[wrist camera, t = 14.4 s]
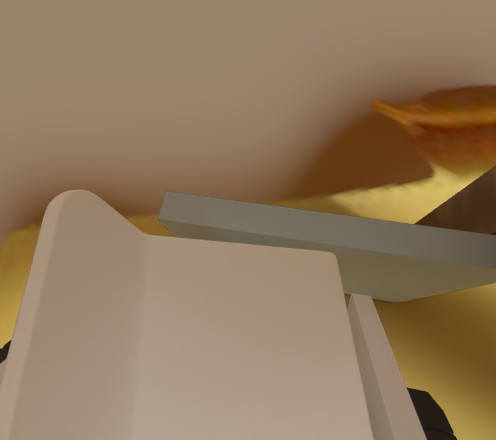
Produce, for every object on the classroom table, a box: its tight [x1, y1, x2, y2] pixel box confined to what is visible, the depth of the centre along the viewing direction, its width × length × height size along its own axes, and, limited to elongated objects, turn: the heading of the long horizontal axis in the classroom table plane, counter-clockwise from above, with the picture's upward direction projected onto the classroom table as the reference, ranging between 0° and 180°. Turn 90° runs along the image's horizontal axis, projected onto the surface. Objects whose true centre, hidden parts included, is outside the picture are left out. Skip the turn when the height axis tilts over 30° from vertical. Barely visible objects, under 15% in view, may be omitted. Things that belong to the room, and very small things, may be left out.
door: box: [157, 191, 496, 303], centre depth 18 cm, size 16×3×12 cm, turn 80°
